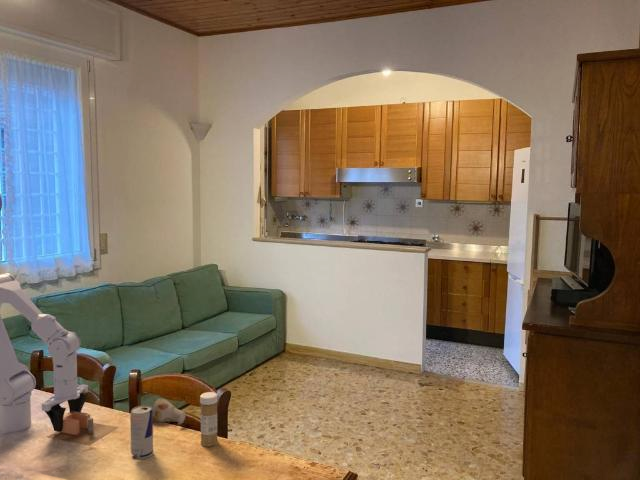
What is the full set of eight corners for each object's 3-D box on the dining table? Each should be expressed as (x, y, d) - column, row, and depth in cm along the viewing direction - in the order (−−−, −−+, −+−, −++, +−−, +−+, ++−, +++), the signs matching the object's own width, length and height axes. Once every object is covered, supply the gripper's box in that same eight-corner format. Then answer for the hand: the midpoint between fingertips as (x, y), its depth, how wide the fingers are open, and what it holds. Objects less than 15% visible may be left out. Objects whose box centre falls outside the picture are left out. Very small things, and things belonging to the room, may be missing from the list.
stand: (46, 442, 135) (46, 422, 135) (77, 425, 146) (76, 406, 145) (89, 450, 131) (89, 430, 131) (118, 432, 142) (118, 413, 141)
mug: (183, 430, 144) (164, 402, 142) (157, 440, 147) (138, 413, 145) (194, 413, 151) (176, 387, 149) (168, 423, 154) (150, 397, 152)
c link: (57, 431, 137) (57, 418, 137) (72, 423, 143) (72, 410, 142) (75, 434, 136) (75, 421, 135) (90, 426, 141) (90, 413, 141)
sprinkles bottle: (215, 438, 139) (215, 390, 138) (219, 445, 135) (219, 396, 134) (198, 440, 138) (198, 392, 136) (201, 448, 133) (201, 398, 132)
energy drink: (157, 451, 131) (157, 406, 130) (143, 461, 126) (143, 415, 125) (140, 448, 133) (139, 403, 132) (126, 458, 128) (125, 411, 127)
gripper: (56, 389, 131) (57, 440, 132) (96, 371, 145) (97, 417, 146) (34, 385, 133) (36, 436, 134) (76, 368, 147) (77, 414, 148)
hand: (66, 426), depth 140 cm, fingers closed on c link, 5 cm apart
